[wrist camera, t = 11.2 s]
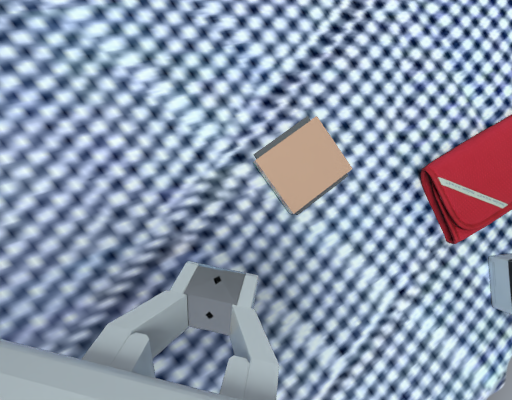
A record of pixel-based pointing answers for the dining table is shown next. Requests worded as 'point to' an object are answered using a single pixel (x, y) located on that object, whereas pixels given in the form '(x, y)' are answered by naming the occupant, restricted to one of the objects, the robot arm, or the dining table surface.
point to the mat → (282, 140)
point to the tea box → (501, 282)
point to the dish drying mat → (472, 182)
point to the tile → (303, 165)
